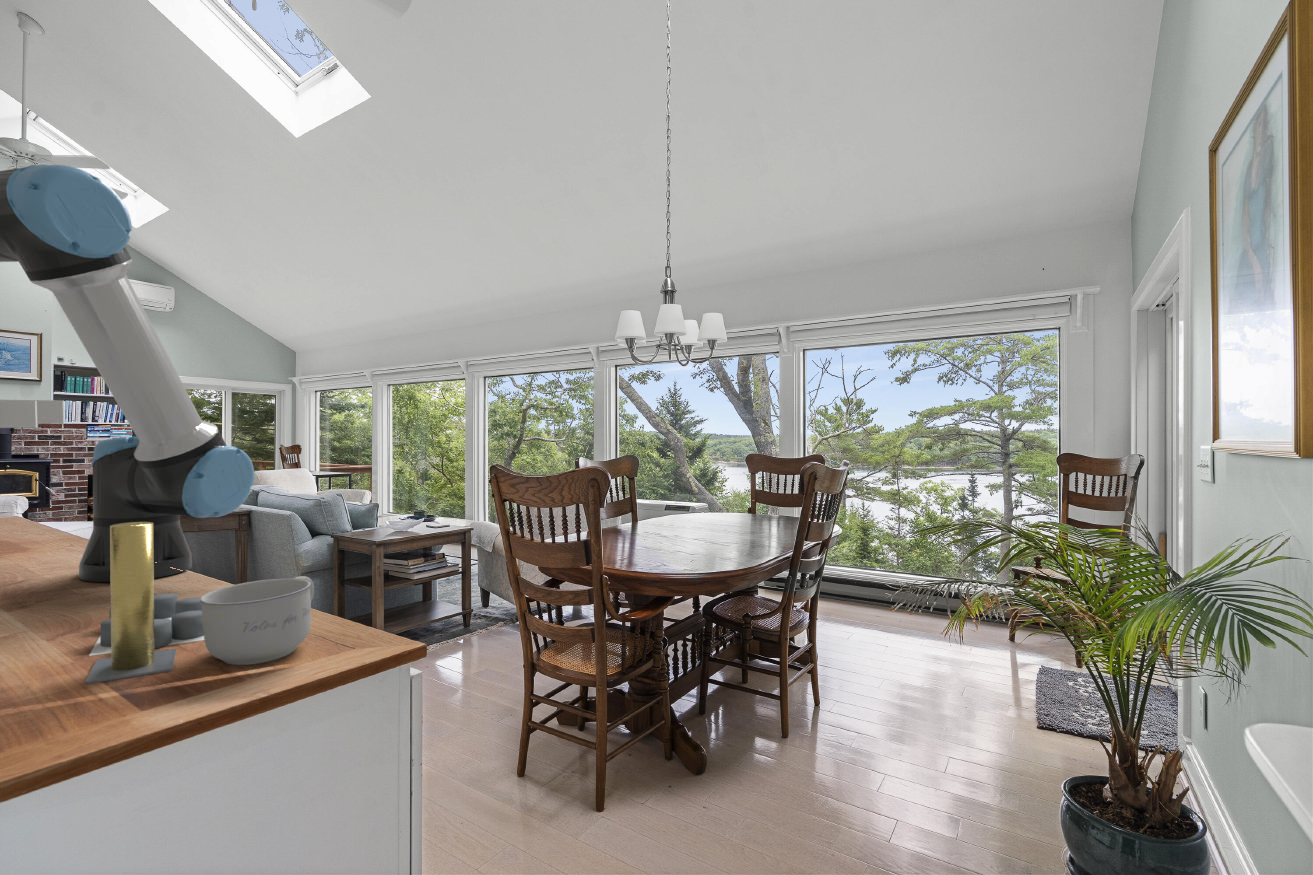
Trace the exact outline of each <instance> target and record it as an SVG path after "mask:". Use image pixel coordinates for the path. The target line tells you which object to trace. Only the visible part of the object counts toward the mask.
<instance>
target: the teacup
mask: <svg viewBox="0 0 1313 875" xmlns="http://www.w3.org/2000/svg"><path fill="white" fill-rule="evenodd" d="M314 594H315V586H314V583H313V580H312V579H311V578H310V577H308V576H306V575H305V576H304V575H303V576H302V575H301V576H296V577H294V578H271V579H261V580H254V581H247V582H243V583H237V584H233V585H227V586H223V587H220V588H217V589H214V590H210V591H209V592H206V593H205V594H203V595H202V596H200V597H201V598H200V603H201V604H202V619H203V631H204V639H205V640H204V643H205V644H204V645H205V647H206V649H207V651H208V652H209V654H210V655H211V656H213V657H215V658H216V659H219V660H221V661H223V662H224V663H226V664H228V665H229V664H230V665H233V666H235V665H236V666H246V665H258V664H264V663H269V662H274V661H277V660H279V659H282V658H285V657H287V656H289V655H291V654H292V653H293V652H294V651H295V650H296V649H297V647H298V646H300V645H301V644H302V643H303V642H304V641H305V639H306V638H307V637H308V635H309V633H310V629H311V625H312V624H311V621H312V608H311V606H312V604H311V602H312V601H313V598H314Z"/></svg>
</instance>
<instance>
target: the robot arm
mask: <svg viewBox="0 0 1313 875" xmlns="http://www.w3.org/2000/svg"><path fill="white" fill-rule="evenodd" d="M132 229H133V228H132V219H131V215H130V213H129V210H128V208H127V206H126V205H125V203H124V201H123V200H122V199H121V197H120V196H119V195H118V193H117V192H115V190H114V189H113V188H111V186H110V185H108V184H107V183H106V182H105V181H103V180H102V179H100V178H99V177H98V176H95V175H93V174H91V173H89V172H87V171H86V170H83V169H80V168H77V167H73V166H70V165H63V164H31V165H28V166H23V167H17V168H10V169H5V170H0V263H5V262H7V263H8V262H9V263H12V262H13V263H14V262H15V263H19V264H20V266H21V268H22V270H23V271H24V273H25V274H26V276H27V278H28V280H29V281H30V282H31V284H34V285H36V286H39V287H41V288H43V289H46V290H48V291H50V292H51V293H52V294H53V296H54V297H55V299H56V301H57V302H58V304H59V305H60V307H61V309H62V311H63V312H64V314H65V316H66V317H67V319H68V321H69V323H70V325H71V326H72V327H73V330H74V331H75V333H76V334H77V336H78V338H79V340H80V341H81V343H82V346H83V347H84V349H85V351H86V352H87V354H88V356H89V358H91V360H92V362H93V364H94V366H95V367H96V369H97V371H98V373H99V375H100V376H101V378H102V379H103V381H104V383H105V385H106V387H107V389H108V390H109V392H110V393H111V396H113V399H114V400H115V402H116V404H117V405H118V407H119V409H120V410H121V412H122V414H123V416H124V417H125V420H126V421H127V422H128V424H129V426H130V427H131V429H132V432H134V435H135V436H126V437H115V438H108V439H103V440H100V441H99V442H98V443H96V444H95V446H94V448H93V452H92V453H93V454H92V461H91V467H92V518H93V519H92V521H93V522H92V532H91V535H90V537H89V540H88V542H87V544H86V547H85V550H84V552H83V554H82V557H81V559H80V562H79V566H78V578H79V579H80V580H81V581H84V582H95V583H111V581H110V526H111V525H115V524H120V523H129V522H152V523H153V542H154V579H155V578H163V577H169V576H172V575H176V574H179V573H183V572H186V571H188V570H190V569H191V568H192V566H193V556H192V552H191V549H190V546H189V544H188V542H187V539H186V537H185V534H184V532H183V530H182V527H181V520H180V519H181V516H182V517H183V516H184V517H192V518H193V517H194V518H197V519H206V518H219V517H222V516H226V515H228V514H231V513H233V512H234V511H236V510H238V508H240V507H241V506H242V505H243V504H244V502H245V501H247V498H248V497H249V495H250V493H251V488H252V486H253V485H254V480H255V468H254V465H253V462H252V459H251V457H250V456H249V455H248V454H247V452H245V451H244V450H242V449H240V448H238V447H236V446H233V445H227V443H226V442H225V439H224V438H223V435H222V434H221V432H220V430H219V428H218V426H217V425H216V424H215V423H211V422H208V421H205V420H202V419H201V417H200V415H199V413H198V411H197V409H196V407H195V405H194V403H193V401H192V400H191V397H190V395H189V393H188V392H187V389H186V387H185V386H184V383H183V381H182V380H181V378H180V376H179V373H178V372H177V371H176V368H175V366H174V365H173V362H172V361H171V358H170V357H169V355H168V353H167V351H166V349H165V347H164V345H163V344H162V341H161V339H160V338H159V336H158V334H157V331H156V330H155V328H154V326H153V324H152V322H151V320H150V319H149V316H148V315H147V313H146V311H145V309H144V307H143V305H142V303H141V301H140V299H139V297H138V295H137V293H136V291H135V289H134V287H133V286H132V283H131V281H130V280H129V278H128V276H127V274H128V273H127V272H128V271H129V269H130V266H131V264H132V262H133V259H132V257H131V255H130V253H129V250H128V248H127V247H126V246H127V244H128V243H129V241H130V239H131V236H130V235H129V234H130V232H132ZM38 424H40V425H42V424H43V425H44V424H45V425H46V424H48V425H49V424H52V425H53V424H57V425H59V424H65V400H59V399H58V400H57V399H56V400H53V399H52V400H49V399H47V400H45V399H43V400H41V399H0V429H27V428H28V429H31V428H33V429H37V428H38V426H39V425H38ZM155 562H157V563H155ZM170 567H173V568H176V569H172V568H170ZM177 569H180V570H183V571H180V570H177Z"/></svg>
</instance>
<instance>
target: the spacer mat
mask: <svg viewBox="0 0 1313 875" xmlns="http://www.w3.org/2000/svg"><path fill="white" fill-rule="evenodd" d="M201 597H202V596H195V597H188V598H183V599H179V594H178V593H159V594H158V593H157V594H154V650H155V649H160V648H163V647H166V646H167V647H168V646H175V645H181V644H189V643H196V642H203V641H204V642H205V639H204V631H203V619H202V604H201V603H200V598H201ZM99 625H100V628H99V629H100V635H99V637H98V639H97V641H96V642H95V644H94V646H93V647H92V649H91V651H90V653H89V654H88V657H93V656H100V655H108V654H111V606H110V607H109V619H108V618H107V619H105V620H103V621H101V622H100V624H99Z"/></svg>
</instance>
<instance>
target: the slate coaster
mask: <svg viewBox="0 0 1313 875" xmlns="http://www.w3.org/2000/svg"><path fill="white" fill-rule="evenodd" d="M177 649H178V648H169V649H164V650H156V651H155V650H154V662H153V663H151V664H149V665H147V666H144V667H141V668H136V669H131V670H113V669H112V668H111V657H105V658H98V659H96V660H95V662H94V664H93V666H92V668H91V669H90V672H89V673H88V676H87V677H86V679H85V680H84V685H89V684H96V683H102V682H108V681H116V680H123V679H129V678H135V677H141V676H142V677H143V676H149V675H153V674H160V673H166V672H167V673H168V672H172V671H173V668H174V665H175V660H176V654H177Z"/></svg>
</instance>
